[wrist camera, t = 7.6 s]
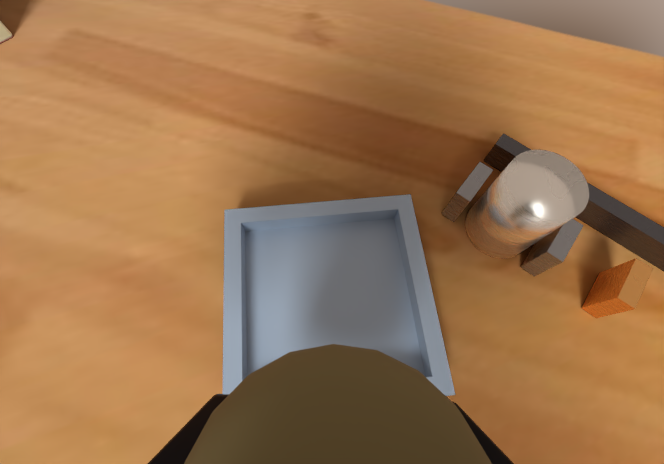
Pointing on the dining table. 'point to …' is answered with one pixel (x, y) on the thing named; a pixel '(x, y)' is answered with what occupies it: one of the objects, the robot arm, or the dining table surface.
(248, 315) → the tray
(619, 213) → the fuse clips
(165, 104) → the dining table surface
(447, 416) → the olive knobbed post
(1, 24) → the gift box
